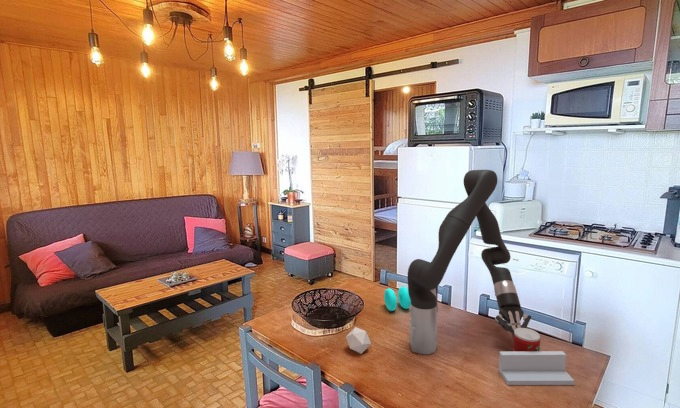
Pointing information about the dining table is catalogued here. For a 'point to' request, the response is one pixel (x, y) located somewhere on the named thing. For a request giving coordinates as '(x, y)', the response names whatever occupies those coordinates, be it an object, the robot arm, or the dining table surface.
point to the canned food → (526, 340)
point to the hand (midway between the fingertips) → (519, 343)
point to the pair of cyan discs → (392, 300)
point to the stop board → (534, 368)
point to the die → (358, 340)
